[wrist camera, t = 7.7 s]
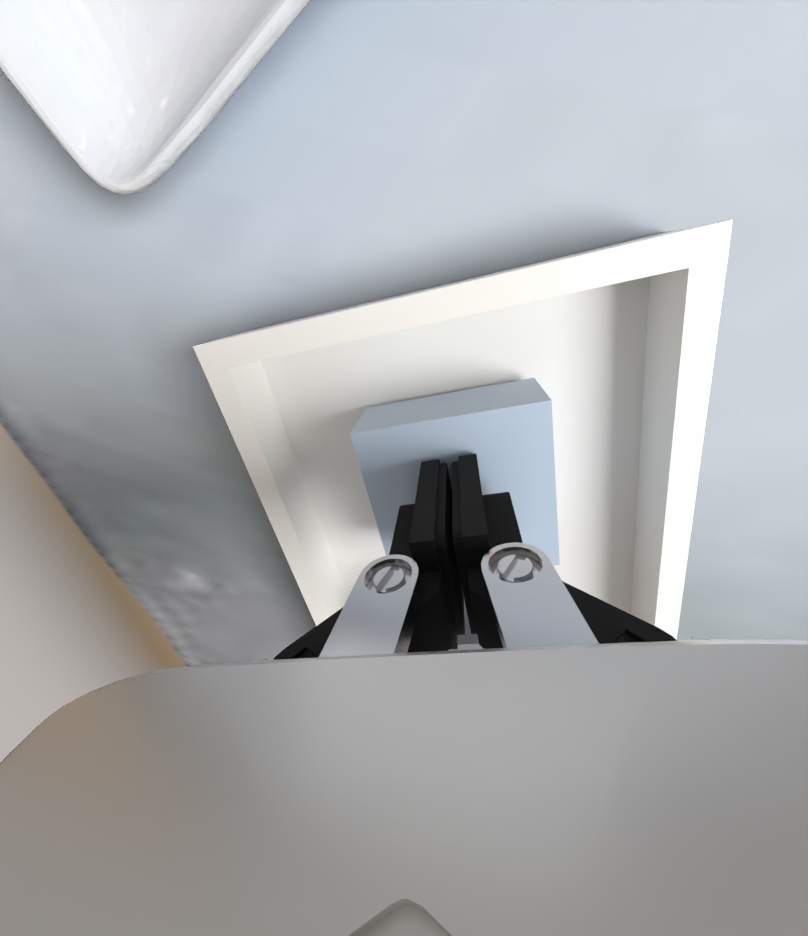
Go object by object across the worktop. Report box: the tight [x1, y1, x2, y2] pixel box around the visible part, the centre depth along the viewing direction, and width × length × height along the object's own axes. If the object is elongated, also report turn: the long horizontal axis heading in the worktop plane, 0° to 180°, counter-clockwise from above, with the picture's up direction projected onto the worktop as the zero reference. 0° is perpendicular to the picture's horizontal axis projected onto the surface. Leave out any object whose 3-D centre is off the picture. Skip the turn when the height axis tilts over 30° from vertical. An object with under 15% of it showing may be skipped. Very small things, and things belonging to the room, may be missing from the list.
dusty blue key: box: [350, 378, 560, 566], centre depth 13 cm, size 6×6×2 cm
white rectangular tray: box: [193, 220, 733, 640], centre depth 17 cm, size 14×28×3 cm, turn 12°
